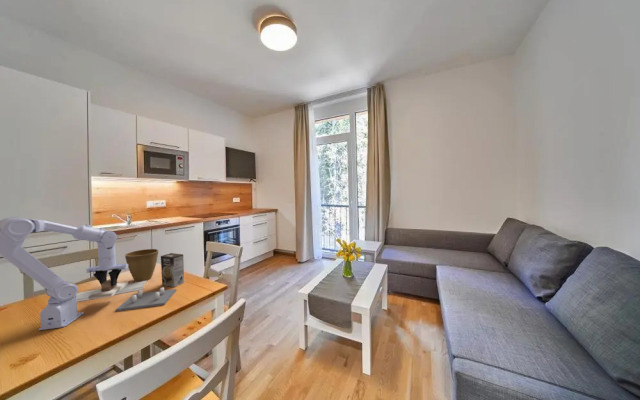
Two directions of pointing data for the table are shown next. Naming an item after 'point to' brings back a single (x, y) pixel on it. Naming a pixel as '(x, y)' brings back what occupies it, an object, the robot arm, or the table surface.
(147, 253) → the plant pot
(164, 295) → the peg stand
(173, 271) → the coffee box
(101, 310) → the table surface
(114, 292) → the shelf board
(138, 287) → the baseboard molding
